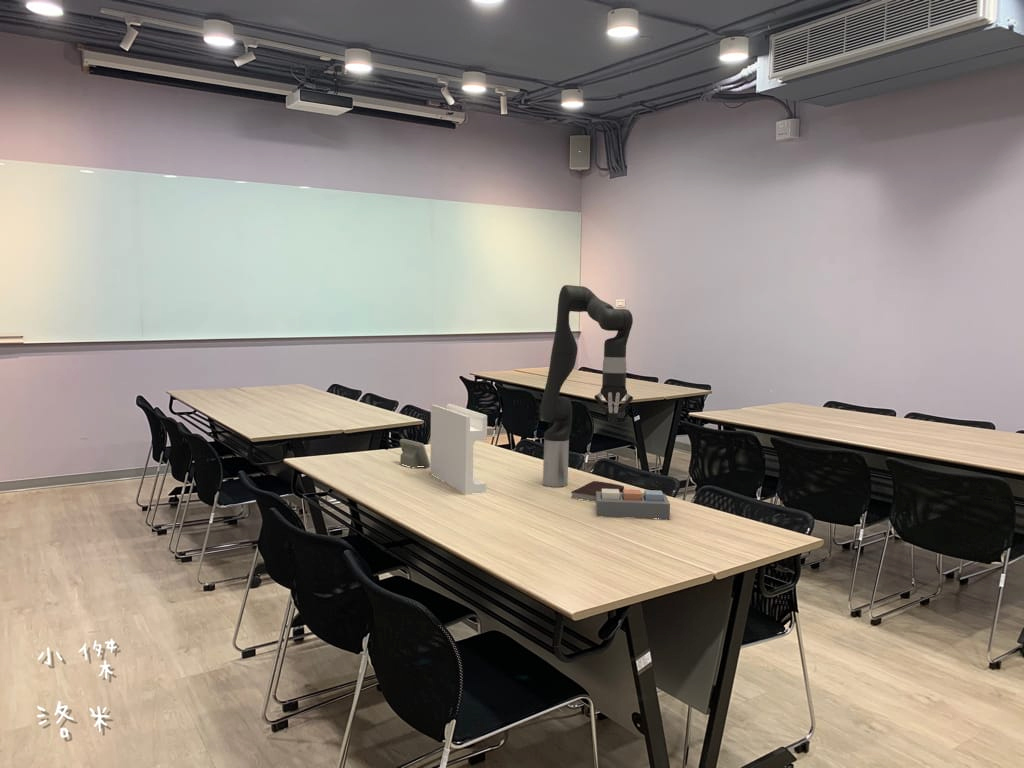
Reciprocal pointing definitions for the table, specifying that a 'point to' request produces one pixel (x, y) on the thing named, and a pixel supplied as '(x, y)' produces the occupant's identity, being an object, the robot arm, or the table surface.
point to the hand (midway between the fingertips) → (612, 424)
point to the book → (593, 490)
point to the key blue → (653, 495)
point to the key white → (610, 494)
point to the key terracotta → (631, 494)
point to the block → (456, 446)
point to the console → (632, 507)
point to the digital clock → (413, 454)
